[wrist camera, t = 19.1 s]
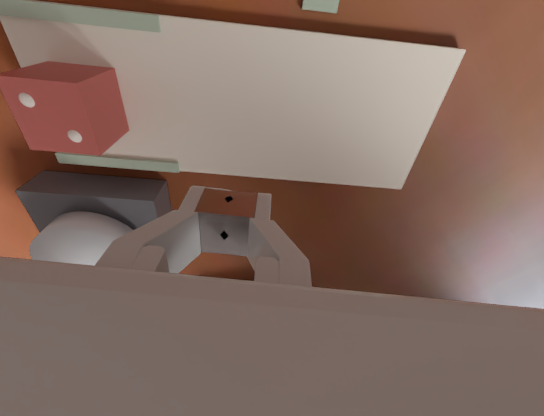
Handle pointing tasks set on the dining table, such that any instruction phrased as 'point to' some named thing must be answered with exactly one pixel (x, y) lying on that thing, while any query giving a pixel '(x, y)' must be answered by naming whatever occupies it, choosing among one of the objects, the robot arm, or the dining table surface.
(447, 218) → the dining table surface
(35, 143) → the red die
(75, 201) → the base
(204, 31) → the board
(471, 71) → the dining table surface
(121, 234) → the dome plunger
